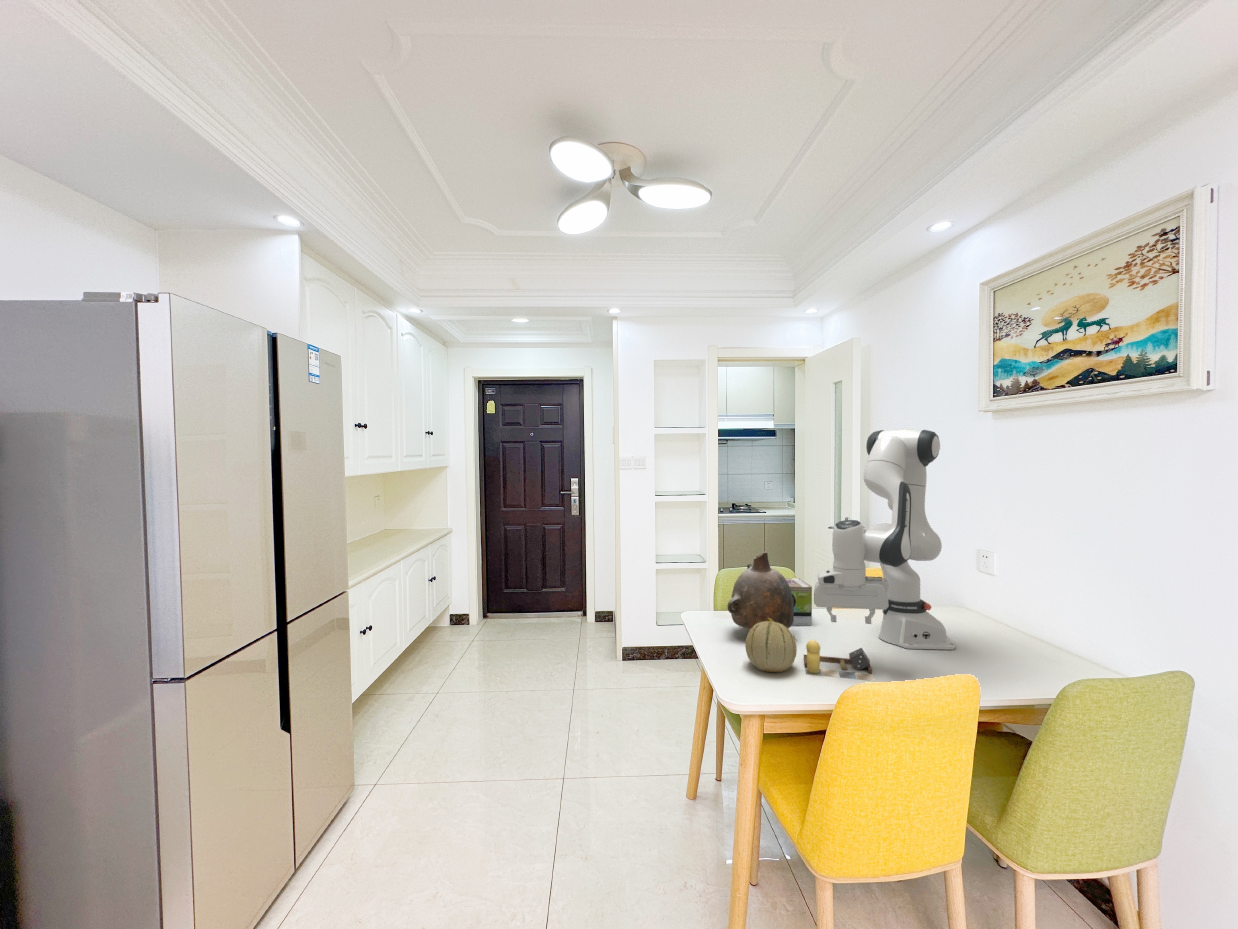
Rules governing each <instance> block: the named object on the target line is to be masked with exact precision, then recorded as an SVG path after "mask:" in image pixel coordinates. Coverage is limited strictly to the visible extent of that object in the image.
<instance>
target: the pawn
mask: <svg viewBox="0 0 1238 929" xmlns="http://www.w3.org/2000/svg"><path fill="white" fill-rule="evenodd" d="M805 647H806V648H805V649H806V655H807V671H808V672H809V673H813V674H818V673H820V669H821V668H820V666H821V664H820V663H821V661H820V656H821V654H820V653H821V652H820V651H821V645H820V643H819V642H818V641H817V640H814V639H813V640H812V639H811V640H809V641H808V642H807V643H806V646H805Z"/></svg>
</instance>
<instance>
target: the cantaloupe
mask: <svg viewBox="0 0 1238 929" xmlns="http://www.w3.org/2000/svg"><path fill="white" fill-rule="evenodd" d="M767 620H769V621H764V622H759V623H757V624H756V625H754V626H753V627H752V628H751V629H750V630H748V633H747V635H746V639H745V652H746V656H747V658H748V660H749V661H750V662H751V664H752V665H753V666H754V667H755V668H756V669H758V670H760V671H761V672H765V673H766V672H767V673H782V672H785V671H787V670H788V669H790V668H791V667H792V665H793V664H794V662H795V660H796V657H797V650H798V649H797V648H798V646H797V641H796V639H795V636H794V635H793V633H792V631H791V630H790V629H789V628H787V627H786V626H784V625H783V624H780V623H777V622H774V621H773V620H772V619H770V618H767Z"/></svg>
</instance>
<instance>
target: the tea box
mask: <svg viewBox="0 0 1238 929" xmlns="http://www.w3.org/2000/svg"><path fill="white" fill-rule="evenodd" d="M784 578H785V579H786V581H787V582H788V585H789V587H790V590H791V593H792V594H793V595H794V596H795V598H796V605H795V607H794V618H793V624H792V626H812V622H813V620H812V619H813V617H812V614H813V610H812V609H813V607H812V606H813V586H811V585H810V584H808V583H807V582H805V581H804V580H802V579H801V578H795V577H794V578H793V577H787V578H786V577H784Z"/></svg>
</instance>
